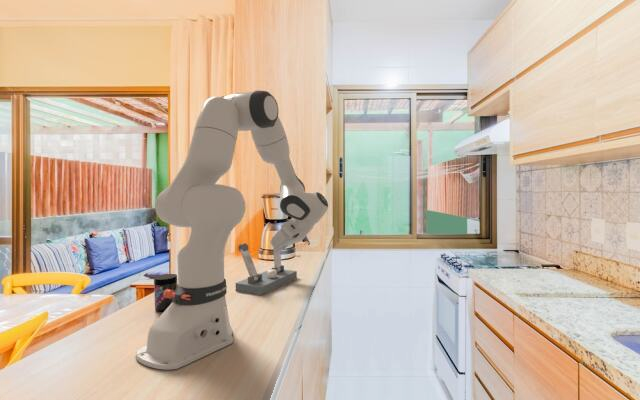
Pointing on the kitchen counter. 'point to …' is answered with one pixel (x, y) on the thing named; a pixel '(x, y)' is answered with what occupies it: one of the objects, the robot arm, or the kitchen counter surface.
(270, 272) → the ivory button
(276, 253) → the control lever
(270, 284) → the console
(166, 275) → the supplement container
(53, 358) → the kitchen counter surface
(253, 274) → the grey lever
